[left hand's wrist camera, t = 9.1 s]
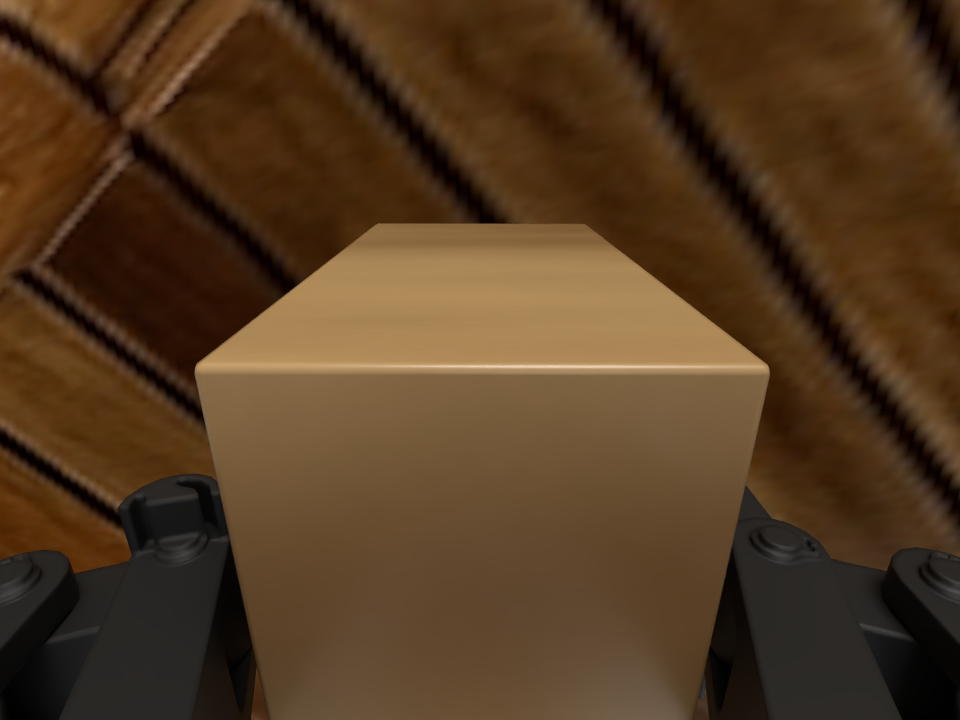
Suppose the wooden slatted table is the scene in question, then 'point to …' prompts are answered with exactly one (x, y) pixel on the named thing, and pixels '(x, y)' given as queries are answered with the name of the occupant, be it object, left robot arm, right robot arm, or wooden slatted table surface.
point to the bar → (481, 479)
